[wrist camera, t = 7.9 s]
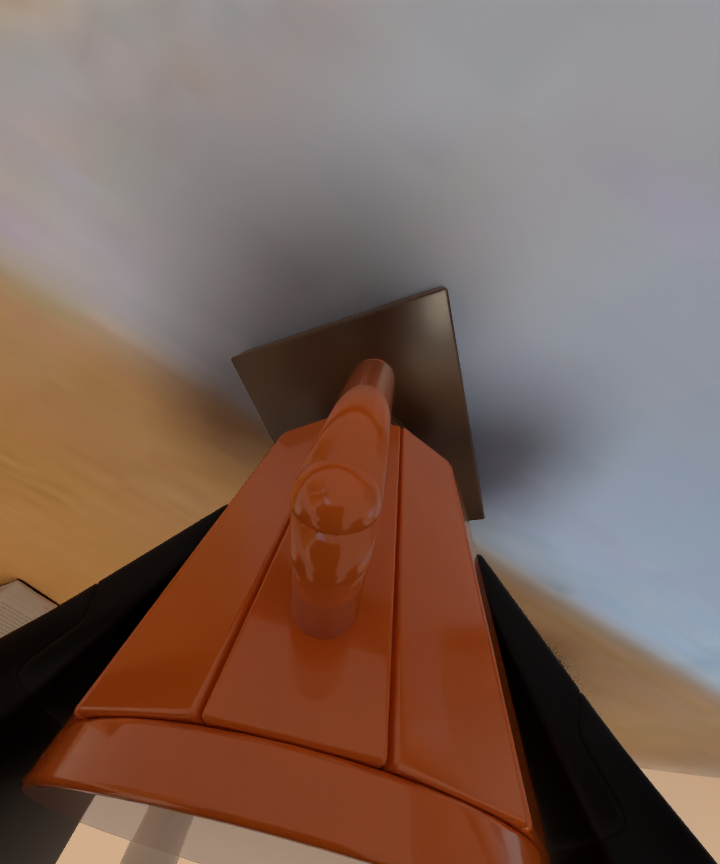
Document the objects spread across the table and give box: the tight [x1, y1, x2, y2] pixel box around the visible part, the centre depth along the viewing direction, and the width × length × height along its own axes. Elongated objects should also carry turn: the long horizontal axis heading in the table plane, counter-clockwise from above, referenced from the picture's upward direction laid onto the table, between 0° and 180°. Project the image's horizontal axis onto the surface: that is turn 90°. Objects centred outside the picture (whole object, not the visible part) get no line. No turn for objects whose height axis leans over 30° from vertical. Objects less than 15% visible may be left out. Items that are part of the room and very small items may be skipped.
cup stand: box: [231, 286, 485, 521], centre depth 11 cm, size 11×9×9 cm
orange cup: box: [20, 358, 551, 864], centre depth 6 cm, size 9×7×7 cm
